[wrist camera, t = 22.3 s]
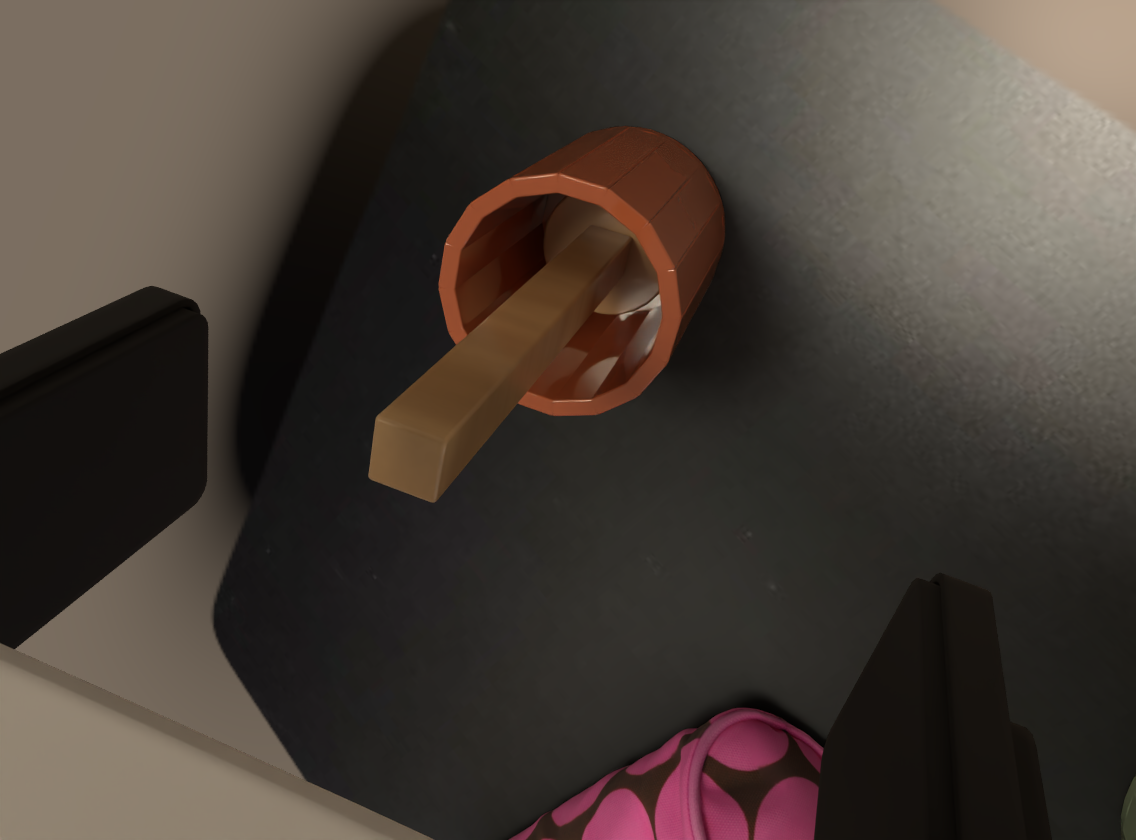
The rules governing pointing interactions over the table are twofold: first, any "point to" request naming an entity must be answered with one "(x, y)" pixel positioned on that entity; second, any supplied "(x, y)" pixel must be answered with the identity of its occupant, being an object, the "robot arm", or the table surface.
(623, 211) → the crock
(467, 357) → the wooden post with base
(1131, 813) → the bowl
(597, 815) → the pencil case
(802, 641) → the table surface
